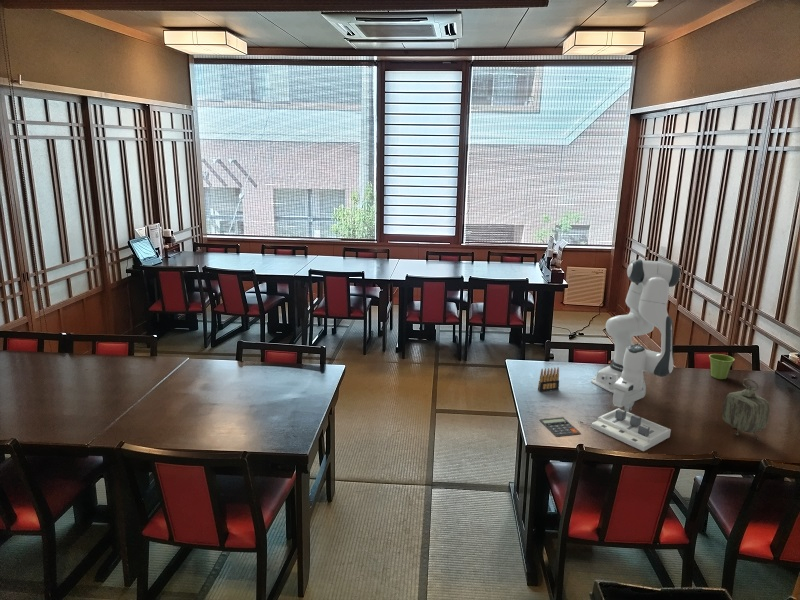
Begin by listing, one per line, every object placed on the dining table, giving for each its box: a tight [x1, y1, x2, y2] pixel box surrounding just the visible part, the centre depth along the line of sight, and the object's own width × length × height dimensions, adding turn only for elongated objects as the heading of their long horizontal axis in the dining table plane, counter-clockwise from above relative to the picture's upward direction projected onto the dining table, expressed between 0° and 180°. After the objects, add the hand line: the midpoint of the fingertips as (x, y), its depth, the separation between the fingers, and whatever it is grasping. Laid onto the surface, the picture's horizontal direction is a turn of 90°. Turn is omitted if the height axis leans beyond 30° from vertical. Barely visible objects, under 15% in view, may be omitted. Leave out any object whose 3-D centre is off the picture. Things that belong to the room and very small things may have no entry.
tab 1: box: [615, 408, 626, 421], centre depth 232 cm, size 3×3×4 cm
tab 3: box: [638, 425, 650, 437], centre depth 218 cm, size 3×3×4 cm
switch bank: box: [590, 407, 672, 452], centre depth 225 cm, size 24×20×4 cm
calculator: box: [539, 416, 582, 438], centre depth 229 cm, size 12×1×15 cm
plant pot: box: [708, 353, 735, 380], centre depth 284 cm, size 12×12×11 cm
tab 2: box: [630, 414, 643, 427], centre depth 227 cm, size 3×3×4 cm
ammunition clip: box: [537, 366, 560, 393], centre depth 265 cm, size 11×2×12 cm, turn 104°
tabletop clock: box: [721, 378, 771, 440], centre depth 222 cm, size 14×9×25 cm, turn 20°
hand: (627, 410), depth 235 cm, fingers closed
